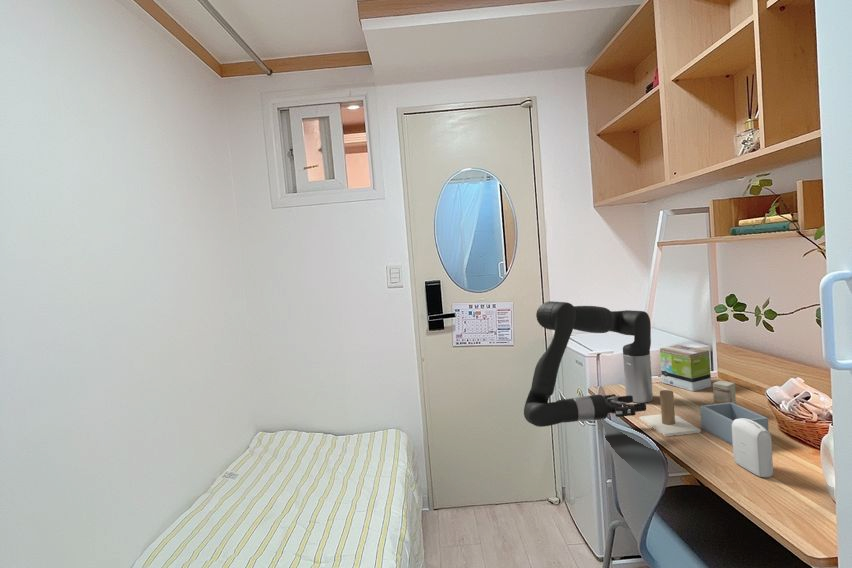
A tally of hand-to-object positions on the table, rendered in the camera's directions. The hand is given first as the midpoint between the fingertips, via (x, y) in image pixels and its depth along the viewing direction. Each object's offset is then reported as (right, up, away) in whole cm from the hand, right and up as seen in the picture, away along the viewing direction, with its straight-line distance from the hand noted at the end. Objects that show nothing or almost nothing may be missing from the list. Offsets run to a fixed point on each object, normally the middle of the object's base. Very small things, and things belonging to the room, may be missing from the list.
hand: (638, 402), depth 156 cm
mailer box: (+23, -7, -11) cm, 27 cm away
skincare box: (+32, -5, +7) cm, 33 cm away
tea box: (+36, -3, +40) cm, 53 cm away
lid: (+10, -8, +1) cm, 13 cm away
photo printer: (+15, -9, -32) cm, 36 cm away
